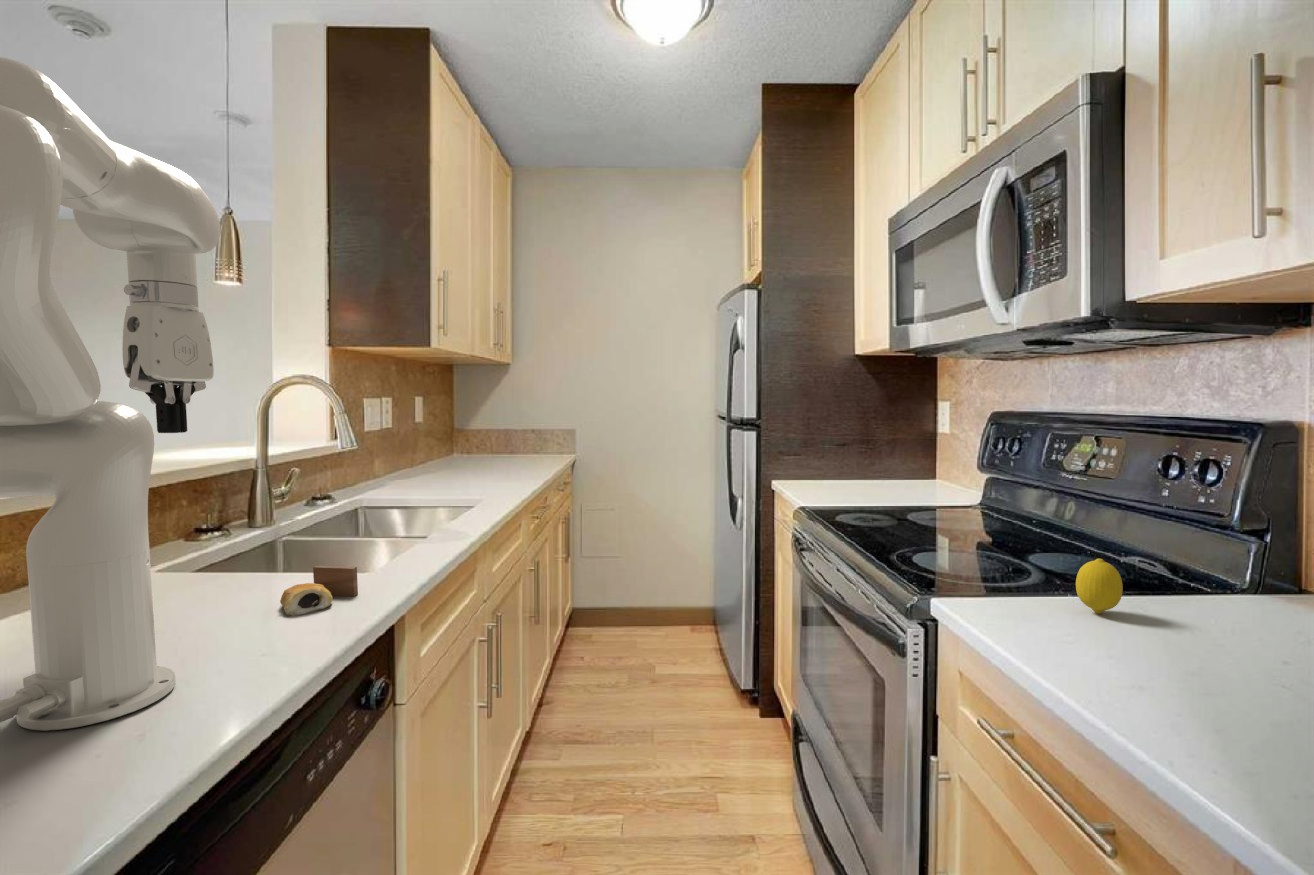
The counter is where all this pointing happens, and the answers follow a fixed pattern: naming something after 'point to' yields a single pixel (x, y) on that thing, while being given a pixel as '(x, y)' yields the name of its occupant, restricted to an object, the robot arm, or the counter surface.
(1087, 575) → the lemon
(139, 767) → the counter surface
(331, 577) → the walnut block
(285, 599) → the pastry
